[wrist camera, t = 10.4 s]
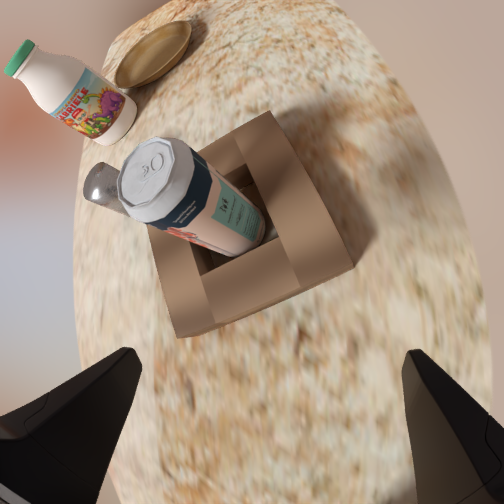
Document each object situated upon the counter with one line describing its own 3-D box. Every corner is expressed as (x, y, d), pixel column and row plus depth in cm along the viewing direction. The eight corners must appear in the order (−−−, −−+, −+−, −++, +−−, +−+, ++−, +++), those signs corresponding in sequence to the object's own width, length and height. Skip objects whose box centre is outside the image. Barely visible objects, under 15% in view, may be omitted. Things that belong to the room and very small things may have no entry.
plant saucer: (210, 53, 31) (200, 41, 29) (125, 113, 35) (113, 104, 33) (189, 20, 36) (182, 11, 33) (122, 68, 40) (113, 60, 37)
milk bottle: (97, 131, 37) (0, 73, 18) (130, 94, 35) (37, 23, 17) (107, 157, 34) (-10, 92, 16) (145, 115, 32) (33, 31, 14)
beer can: (208, 218, 25) (108, 162, 14) (255, 193, 24) (172, 113, 13) (224, 267, 24) (116, 234, 13) (276, 243, 23) (192, 183, 12)
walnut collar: (353, 268, 20) (352, 262, 17) (197, 336, 24) (177, 338, 21) (280, 129, 24) (269, 110, 22) (159, 201, 28) (139, 191, 25)
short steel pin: (143, 216, 29) (101, 198, 23) (119, 216, 30) (79, 201, 25) (151, 181, 29) (112, 159, 24) (127, 184, 31) (89, 165, 25)
